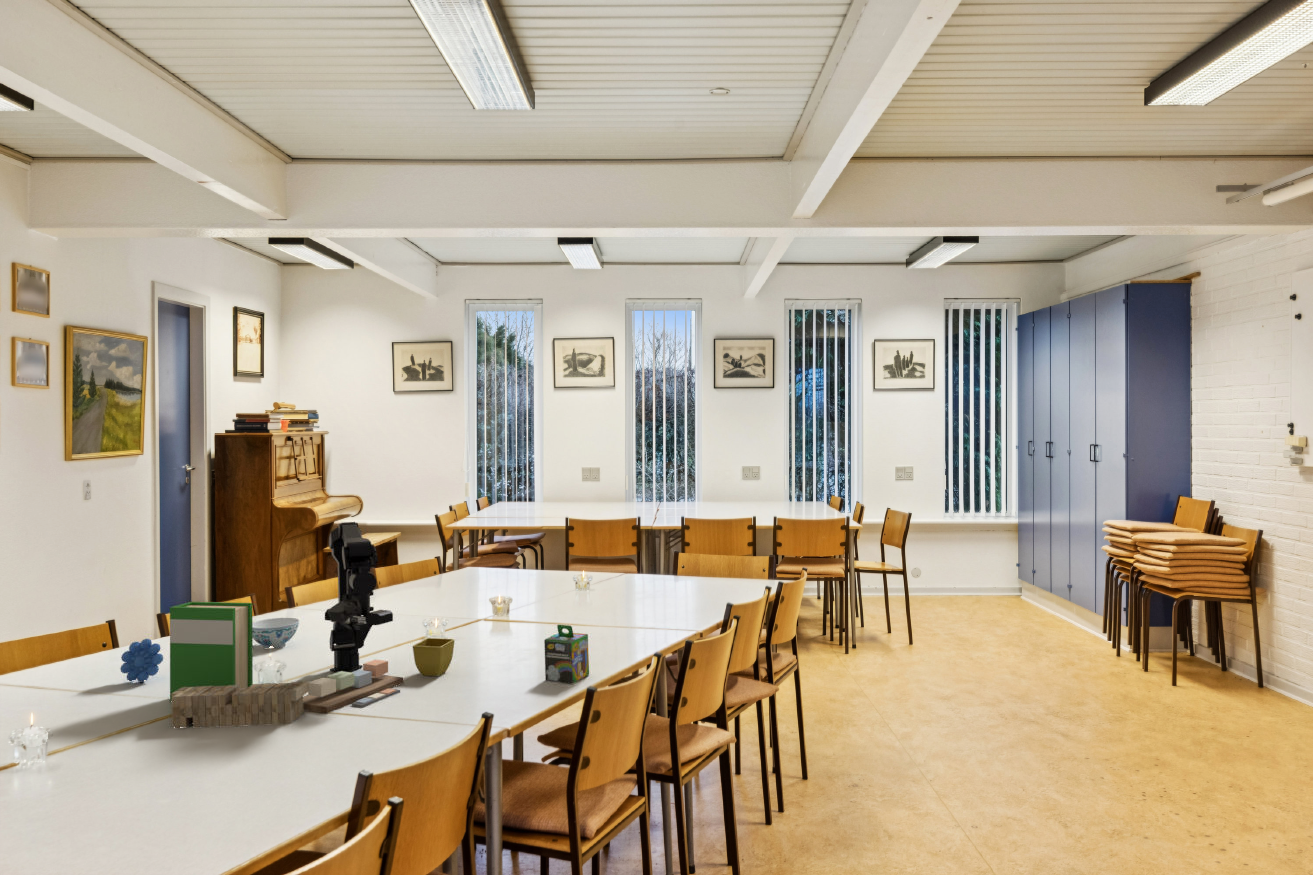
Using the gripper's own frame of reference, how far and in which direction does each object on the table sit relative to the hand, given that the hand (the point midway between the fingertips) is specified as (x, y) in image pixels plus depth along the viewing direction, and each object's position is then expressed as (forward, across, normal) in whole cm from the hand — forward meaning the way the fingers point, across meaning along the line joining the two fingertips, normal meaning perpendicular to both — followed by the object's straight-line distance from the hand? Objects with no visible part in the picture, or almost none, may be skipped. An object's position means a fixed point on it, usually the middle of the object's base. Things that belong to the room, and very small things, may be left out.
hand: (358, 648), depth 202 cm
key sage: (+8, 0, -6) cm, 10 cm away
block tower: (+12, -10, -27) cm, 31 cm away
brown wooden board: (+11, 0, -3) cm, 12 cm away
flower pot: (+12, +8, +20) cm, 25 cm away
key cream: (+8, 0, -12) cm, 14 cm away
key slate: (+10, 0, 0) cm, 10 cm away
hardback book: (+12, -31, -19) cm, 38 cm away
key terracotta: (+8, 0, +6) cm, 10 cm away
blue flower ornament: (+11, -63, -16) cm, 66 cm away
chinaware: (+11, -62, +25) cm, 68 cm away
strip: (+11, +9, -3) cm, 15 cm away
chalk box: (+12, +45, +31) cm, 56 cm away
